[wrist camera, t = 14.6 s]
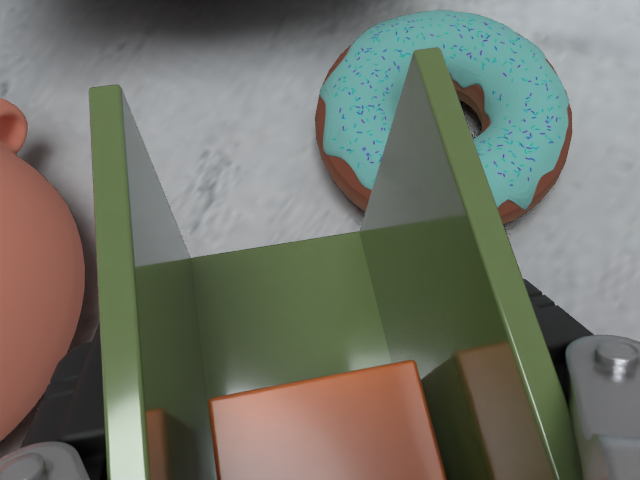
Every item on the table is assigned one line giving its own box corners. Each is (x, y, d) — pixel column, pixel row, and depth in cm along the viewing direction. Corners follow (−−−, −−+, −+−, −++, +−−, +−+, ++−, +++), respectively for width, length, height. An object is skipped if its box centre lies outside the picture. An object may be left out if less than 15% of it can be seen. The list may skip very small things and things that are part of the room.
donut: (346, 35, 32) (346, -24, 28) (565, 70, 30) (595, 13, 26) (290, 223, 27) (281, 182, 24) (543, 276, 26) (576, 242, 22)
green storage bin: (471, 625, 13) (713, 804, 6) (221, 690, 12) (129, 992, 5) (372, 236, 17) (440, 45, 10) (176, 267, 16) (87, 86, 9)
